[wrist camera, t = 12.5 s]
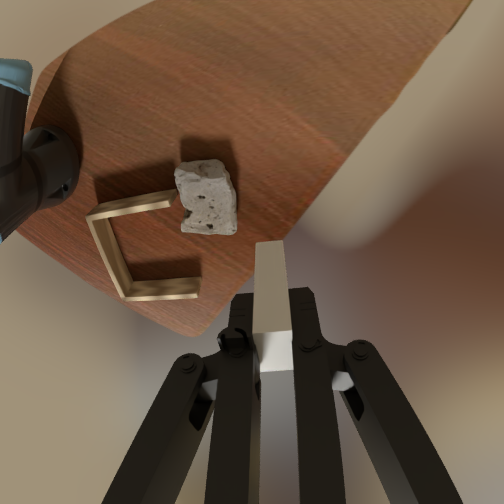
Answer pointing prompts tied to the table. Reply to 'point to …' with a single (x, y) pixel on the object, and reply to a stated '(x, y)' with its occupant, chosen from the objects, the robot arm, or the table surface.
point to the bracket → (115, 260)
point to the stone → (206, 197)
